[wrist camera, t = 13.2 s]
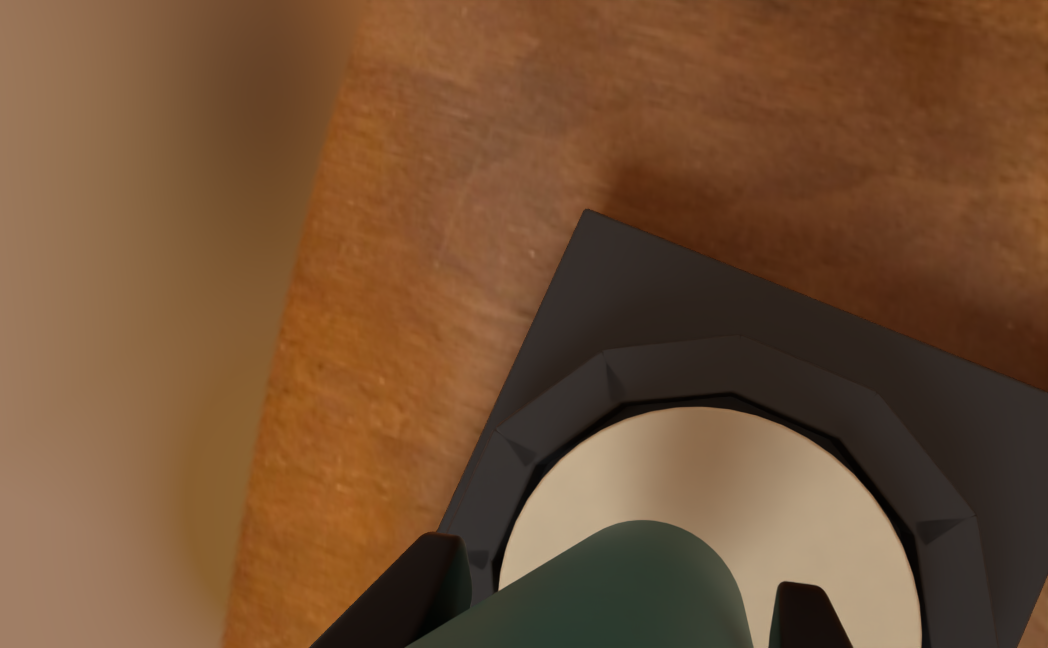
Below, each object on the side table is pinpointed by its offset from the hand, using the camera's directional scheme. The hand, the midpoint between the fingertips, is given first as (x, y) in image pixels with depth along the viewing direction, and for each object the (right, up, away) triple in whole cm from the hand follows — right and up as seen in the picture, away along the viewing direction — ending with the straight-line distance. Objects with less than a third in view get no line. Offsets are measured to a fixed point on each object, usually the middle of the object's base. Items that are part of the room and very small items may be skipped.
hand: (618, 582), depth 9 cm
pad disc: (+3, -3, +9) cm, 10 cm away
